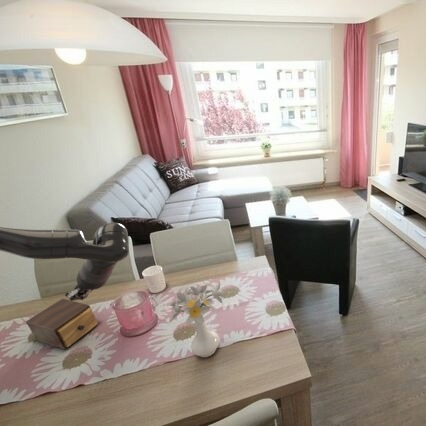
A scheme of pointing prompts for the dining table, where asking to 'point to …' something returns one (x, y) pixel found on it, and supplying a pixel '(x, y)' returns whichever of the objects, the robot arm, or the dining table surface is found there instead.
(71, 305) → the wooden drawer box
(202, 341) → the flower vase
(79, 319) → the wooden drawer with knob
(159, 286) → the white cup
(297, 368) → the dining table surface
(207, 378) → the dining table surface
